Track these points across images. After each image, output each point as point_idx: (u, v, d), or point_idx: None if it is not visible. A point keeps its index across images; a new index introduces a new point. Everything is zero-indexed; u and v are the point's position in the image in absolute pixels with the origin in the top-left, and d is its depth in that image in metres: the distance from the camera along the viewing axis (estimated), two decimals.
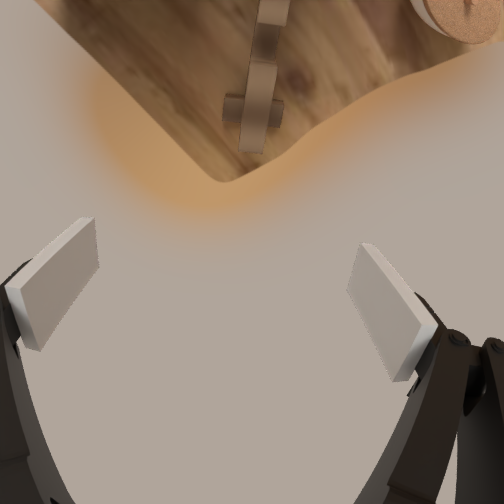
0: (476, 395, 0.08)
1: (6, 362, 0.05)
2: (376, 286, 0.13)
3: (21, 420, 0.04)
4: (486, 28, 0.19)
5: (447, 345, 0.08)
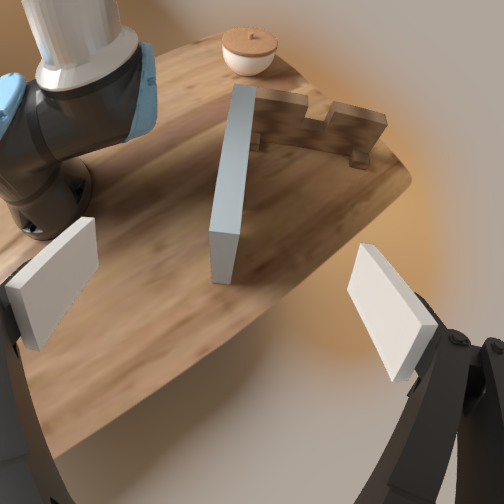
0: (477, 395, 0.08)
1: (6, 362, 0.05)
2: (376, 287, 0.13)
3: (21, 420, 0.04)
4: (261, 31, 0.51)
5: (447, 345, 0.08)
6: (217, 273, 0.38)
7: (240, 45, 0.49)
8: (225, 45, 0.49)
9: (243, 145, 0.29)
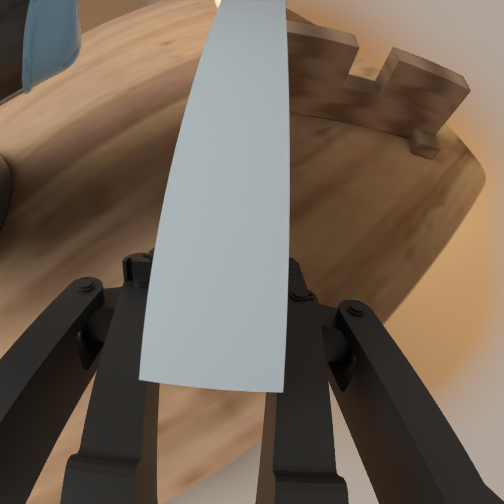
0: (348, 363, 0.10)
1: None
2: None
3: (144, 422, 0.05)
4: None
5: (289, 305, 0.10)
6: None
7: None
8: None
9: (270, 49, 0.08)
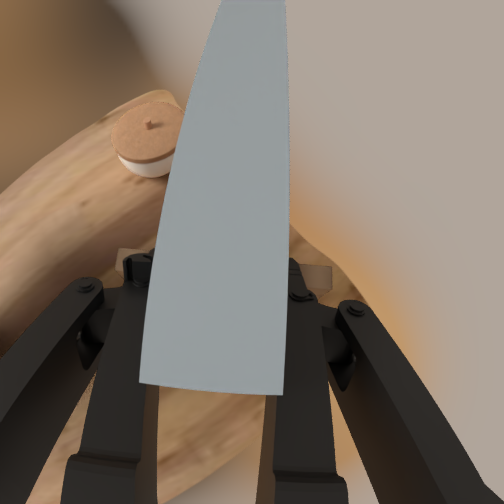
0: (348, 363, 0.10)
1: None
2: None
3: (144, 422, 0.05)
4: (167, 109, 0.40)
5: (289, 305, 0.10)
6: None
7: (131, 145, 0.37)
8: (113, 145, 0.37)
9: (270, 51, 0.08)
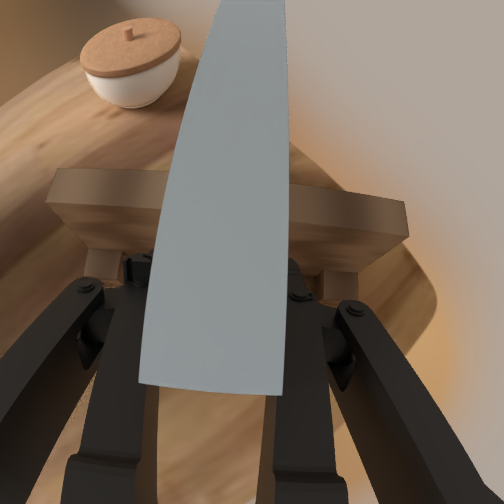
0: (348, 363, 0.10)
1: None
2: None
3: (144, 422, 0.05)
4: (156, 22, 0.26)
5: (289, 305, 0.10)
6: None
7: (103, 57, 0.23)
8: (81, 62, 0.23)
9: (269, 51, 0.08)
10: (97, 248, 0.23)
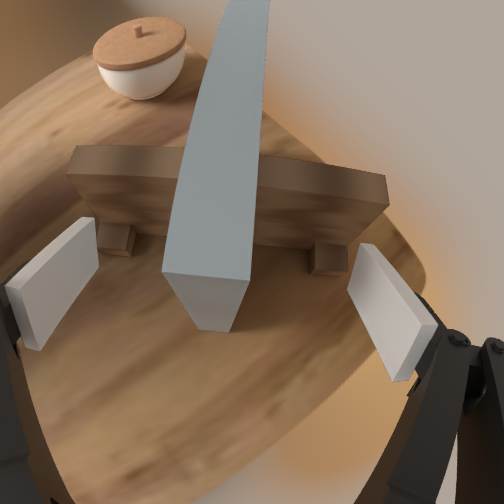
0: (476, 395, 0.08)
1: (6, 362, 0.05)
2: (376, 287, 0.13)
3: (21, 420, 0.04)
4: (163, 21, 0.28)
5: (447, 345, 0.08)
6: (205, 324, 0.21)
7: (115, 52, 0.26)
8: (94, 56, 0.26)
9: (252, 69, 0.12)
10: (108, 222, 0.26)
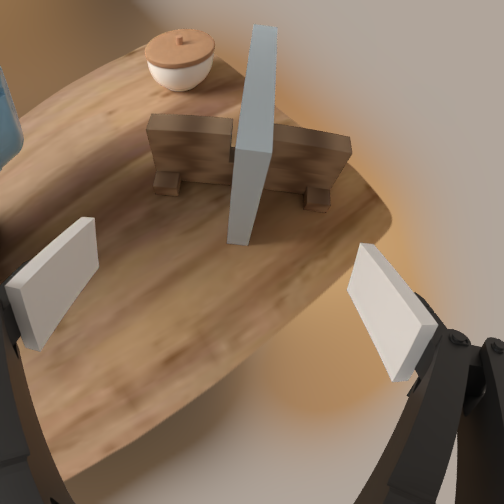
0: (476, 395, 0.08)
1: (6, 362, 0.05)
2: (376, 287, 0.13)
3: (21, 420, 0.04)
4: (196, 33, 0.40)
5: (447, 345, 0.08)
6: (235, 226, 0.33)
7: (164, 54, 0.38)
8: (146, 56, 0.38)
9: (269, 72, 0.24)
10: (163, 170, 0.37)
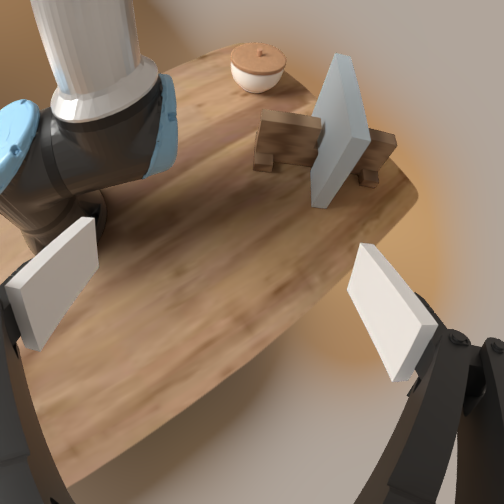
0: (476, 395, 0.08)
1: (6, 362, 0.05)
2: (376, 287, 0.13)
3: (21, 420, 0.04)
4: (269, 47, 0.53)
5: (447, 345, 0.08)
6: (325, 192, 0.46)
7: (249, 63, 0.50)
8: (234, 63, 0.51)
9: (356, 91, 0.37)
10: (260, 152, 0.50)
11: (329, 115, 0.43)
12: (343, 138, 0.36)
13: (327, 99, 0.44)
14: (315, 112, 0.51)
